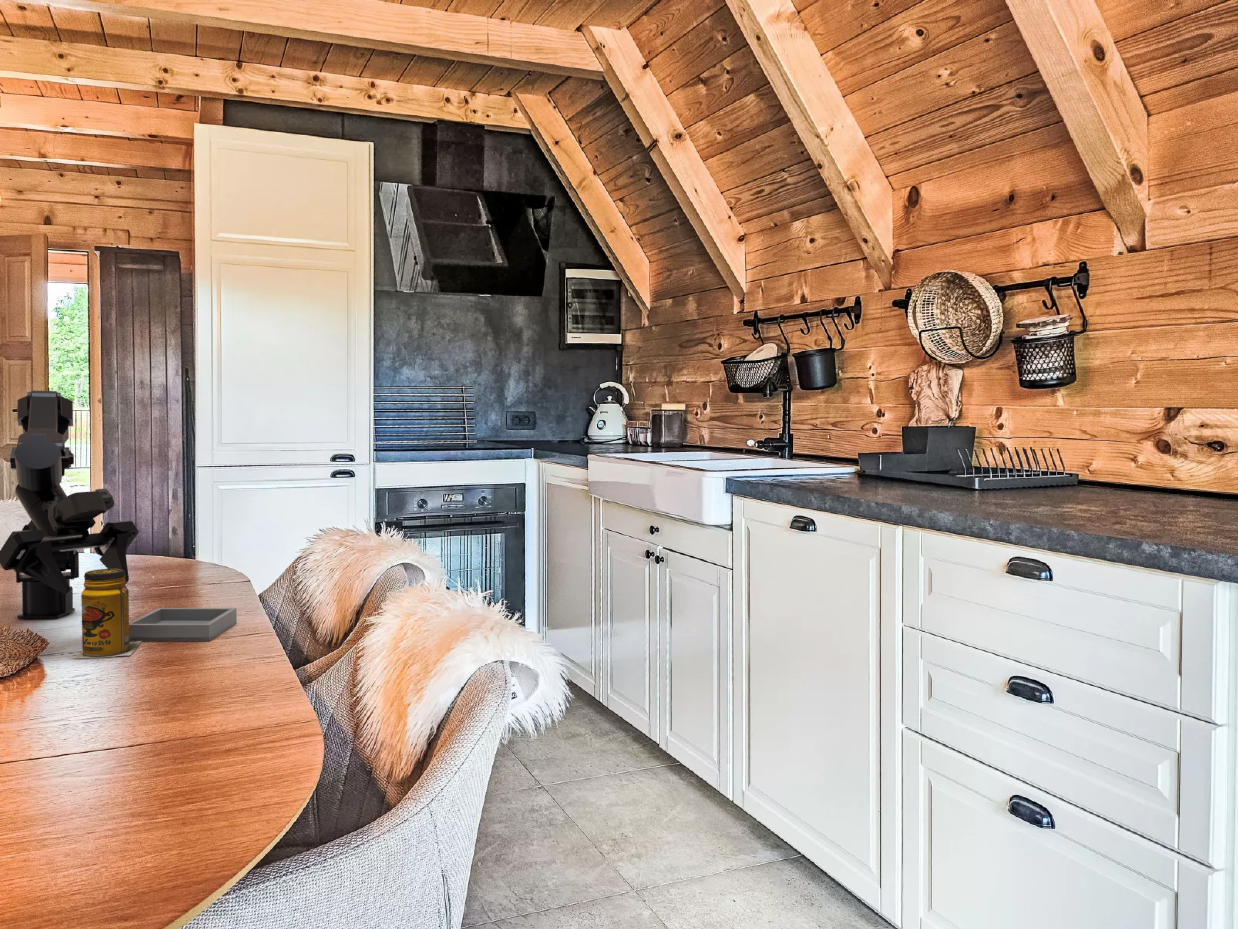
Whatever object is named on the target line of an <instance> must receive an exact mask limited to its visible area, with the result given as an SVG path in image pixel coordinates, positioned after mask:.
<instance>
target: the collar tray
mask: <svg viewBox="0 0 1238 929" xmlns="http://www.w3.org/2000/svg"><path fill="white" fill-rule="evenodd" d="M237 612H238V611H237V608H235V607H234V608H233V607H231V608H230V607H229V608H228V607H221V608H220V607H218V608H216V607H213V608H212V607H208V608H206V607H158V608H156V609H154V610H152V611H150V612H147V613H146V614H143V615H141V616H140V617H138V618H136V619H133V620H131V621H129V642H136V641H141V642H210V641H212V640H213V639H215V638H216V637H218V636H220V634H223V633H224V632H226V631H227V630H229V629H230V628H232V627H233V626H234V625H236V624H237V618H238V617H237Z"/></svg>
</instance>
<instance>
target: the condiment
mask: <svg viewBox="0 0 1238 929" xmlns="http://www.w3.org/2000/svg"><path fill="white" fill-rule="evenodd" d="M125 574H126V573H125V571H124V570H122V569H107V568H101V569H93V570H89V571H86V572H85V573H84V575H83V578H84V582H83V586H84V589H83V590H82V592H81V596H80V597H81V598H80V599H81V630H82V631H81V639H82V640H81V641H82V642H81V644H82V645H81V646H82V647H81V650H80V652H78V654H77V655H76V656H75V657H73V659H74V660H76V659H102V658H114V657H118V656H119V657H122V656H124V657H125V656H131V655H132V654H134V652H135V651H136V649H137V648H138V647H139V645H140V644H141V642H142V641H129V622H130V614H129V613H130V608H129V607H130V601H129V600H130V594H129V592H130V591H129V588H128V587H127V585H126V580H125Z"/></svg>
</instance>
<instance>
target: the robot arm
mask: <svg viewBox="0 0 1238 929" xmlns="http://www.w3.org/2000/svg"><path fill="white" fill-rule="evenodd" d="M16 403H17V407H16V408H17V410H16V412H17V414H16V417H17V418H16V419H17V420H16V421H17V424H18V426H19V427H21V426H22V433H21V434H19V435H18V437H17V441H16V443H17V444H16V445H17V446H14V447H13V446H12V448H11V451H10V455H9V462H10V464H9V465H10V469H11V470H12V471H15V472H16V481H17V485H16V486H15V490H14V493H15V496H16V497H17V498H18V500H19V502H20V503H21V505H22V507H23V508H24V510H25V512H26V514H28V517H29V519H30V521H29V523H27V524H25V525H23V527H22V529H21V530H14V531H12V532H11V533H10V534H9V536H8V538H7V539H6V540H5V542H4V544H3V545H2V547H1V549H0V567H1V568H2V569H3V570H4V571H11V570H13V571H14V573H15V581H16V582H15V583H16V584H20V583H21V596H22V597H21V599H22V602H21V603H22V608H21V610H22V613H20V614H17V615H16V619H59V618H61V617H63V616H65V615H69V614H71V613H73V612H75V611H76V608H74V600H73V598H74V592H73V591H74V590H73V589H74V587H73V586H72V585H70V584H71V583H70V582H71V581H72V580H75V579H78V578H80V559H79V558H80V557H79V556H80V554H79V553H80V552H79V551H78V550H83V549H84V550H86V549H93V550H94V552H96V555H98V556H101V557H100V558H99V561H100V562H101V564H102V565H103V566H104V567H105V568H106V569H122V570H124V571H125V573H126V574H125V580H126V584H128V582H129V581H130V576H129V570H128V569H129V568H128V561H127V549H128V548H129V546H130V545H131V544H132V543H133V541H134V540H135V539H136V537H137V535H139V532H140V531H139V529H138V528H137V526H136V525H135V523H134V521H132V520H120V521H109V522H108V521H107V522H106V523H105V525H104V526H103V528H102V529H101V530H100V532H95V533H90V531H89V529H90V528H91V529H92V528H94V527H95V526H94V525H95V524H96V521H95V518H97V517H98V516H100V515H102V514H105V513H107V511H108V510H110V509H113V508H114V506H115V501H114V496H113V495H112V493H111V492H110V491H109V489H108V488H96V489H95V490H92V491H79V492H78V491H77V492H74V493H70V494H69V495H67V493H66V492H65V491H64V489H63V487H62V486H61V483H62V479H63V477H64V476H65V473H66V472H65V470H70V469H71V468H72V465H75V454H74V453H73V452H72V451H71V450H70V447H69V446H67V447H66V446H65V444H66V442H67V441H68V440H69V438H70V430H69V429H70V427H74V404H73V403H74V401H73V400H71V399H70V398H69V399H68V398H66V397H65V396H62V392H58V391H57V390H33V389H31V391H27V392H26V396H25V395H24V396H23V397H21V398H19V399H17V401H16ZM69 570H70V571H69ZM70 580H71V581H70ZM126 584H125V585H126Z"/></svg>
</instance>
